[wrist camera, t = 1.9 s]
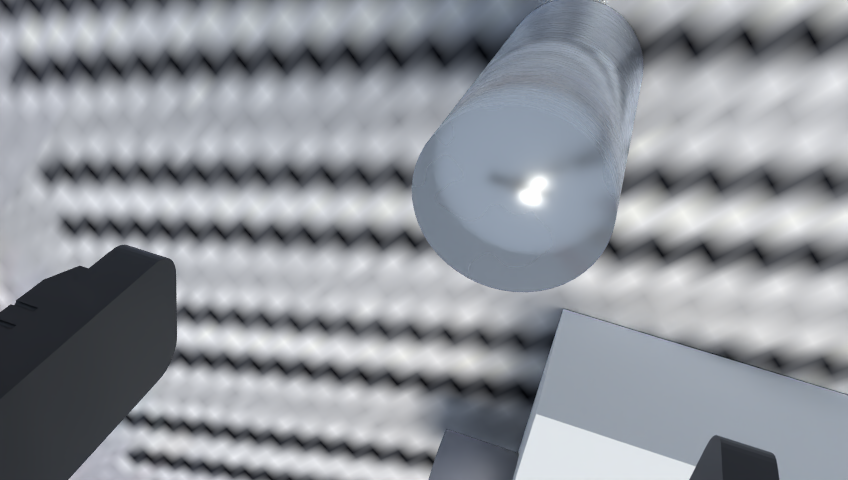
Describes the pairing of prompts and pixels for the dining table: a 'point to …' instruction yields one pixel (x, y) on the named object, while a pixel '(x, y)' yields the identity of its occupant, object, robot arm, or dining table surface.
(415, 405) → the dining table surface
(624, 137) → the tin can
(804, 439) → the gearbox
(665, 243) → the dining table surface
